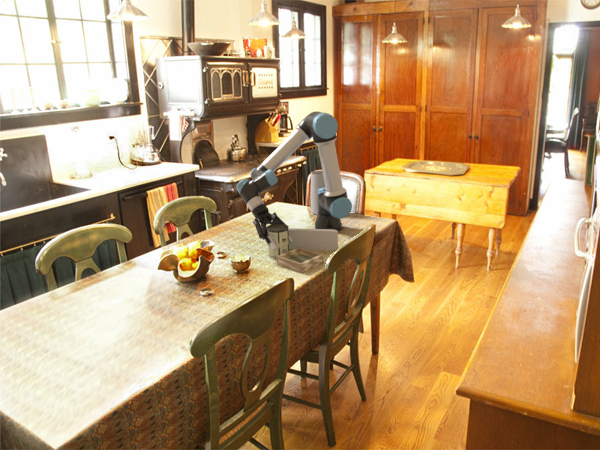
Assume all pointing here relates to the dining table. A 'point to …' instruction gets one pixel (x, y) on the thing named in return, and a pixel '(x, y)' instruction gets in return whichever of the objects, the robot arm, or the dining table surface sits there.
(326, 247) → the decorative sign
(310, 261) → the square tray
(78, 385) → the dining table surface
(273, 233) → the coffee can
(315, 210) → the cylinder vase
